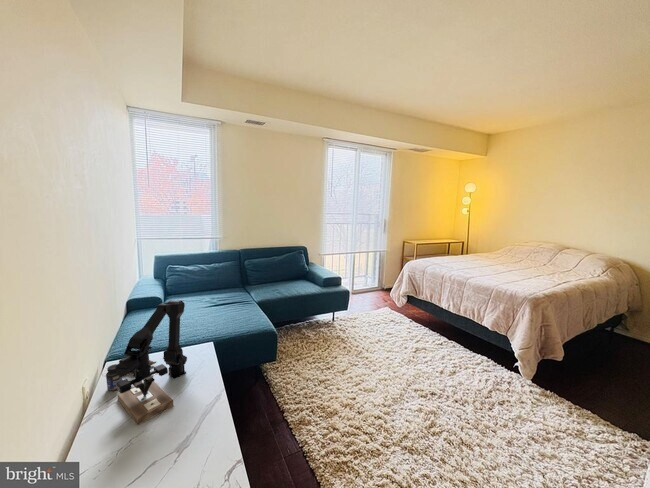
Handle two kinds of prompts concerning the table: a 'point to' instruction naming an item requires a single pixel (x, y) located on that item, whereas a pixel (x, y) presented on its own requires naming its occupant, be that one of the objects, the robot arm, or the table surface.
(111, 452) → the table surface
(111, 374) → the pill bottle
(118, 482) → the table surface
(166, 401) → the board
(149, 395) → the three pip button
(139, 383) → the robot arm
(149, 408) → the one pip button
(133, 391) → the two pip button
